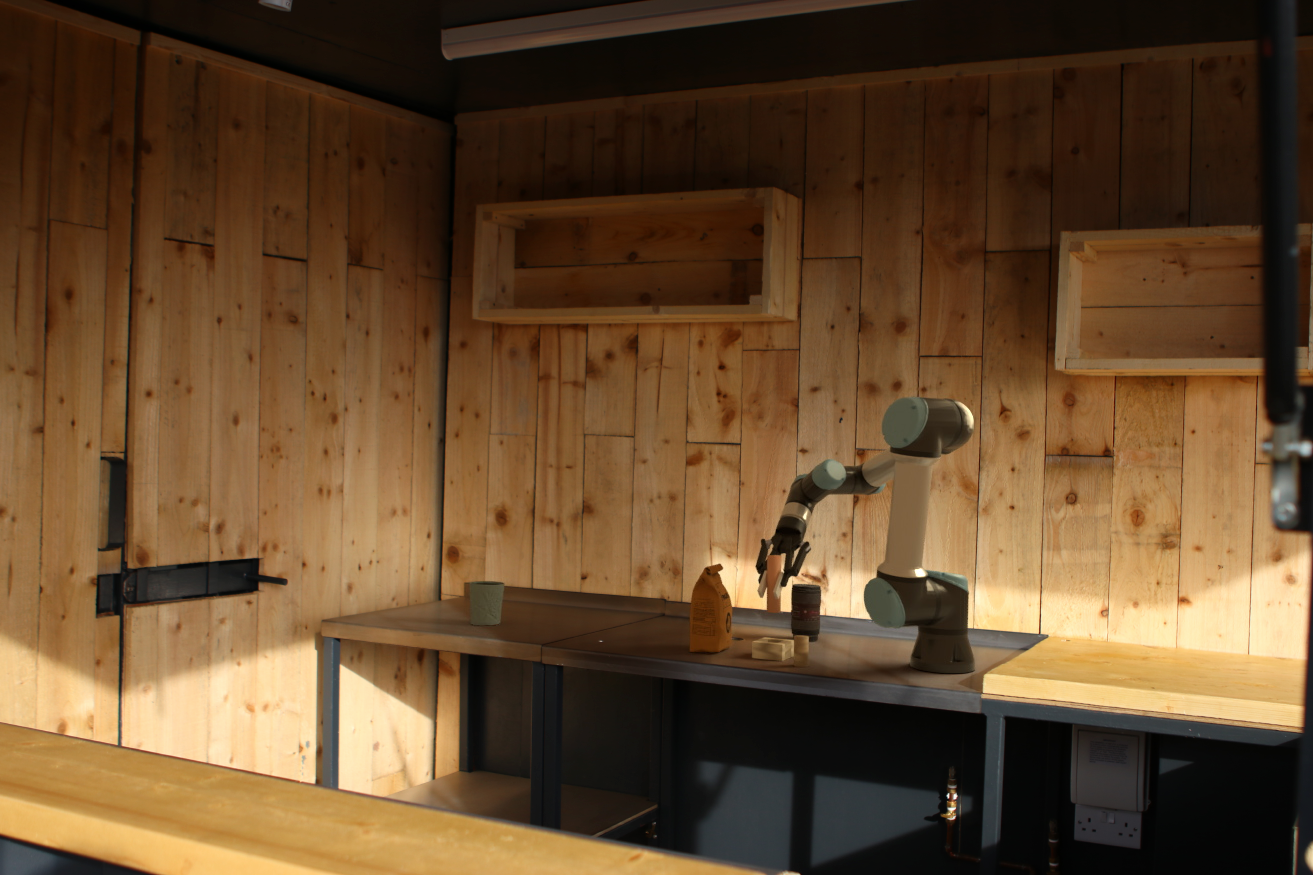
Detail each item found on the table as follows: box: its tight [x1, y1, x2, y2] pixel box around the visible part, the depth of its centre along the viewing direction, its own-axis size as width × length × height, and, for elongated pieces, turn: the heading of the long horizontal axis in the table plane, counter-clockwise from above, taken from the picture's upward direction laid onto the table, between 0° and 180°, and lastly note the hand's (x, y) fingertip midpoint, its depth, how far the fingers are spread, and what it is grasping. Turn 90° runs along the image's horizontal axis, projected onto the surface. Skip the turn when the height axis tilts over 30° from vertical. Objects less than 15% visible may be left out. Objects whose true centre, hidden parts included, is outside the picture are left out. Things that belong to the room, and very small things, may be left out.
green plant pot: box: [468, 580, 505, 626], centre depth 324 cm, size 10×10×12 cm
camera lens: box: [790, 583, 822, 643], centre depth 305 cm, size 8×8×15 cm
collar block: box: [751, 637, 794, 662], centre depth 278 cm, size 8×8×4 cm
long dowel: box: [766, 554, 782, 614], centre depth 279 cm, size 4×4×14 cm
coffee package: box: [689, 563, 733, 654], centre depth 286 cm, size 10×12×22 cm
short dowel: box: [793, 635, 810, 668], centre depth 268 cm, size 4×4×7 cm
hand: (767, 594), depth 275 cm, fingers closed on long dowel, 3 cm apart
